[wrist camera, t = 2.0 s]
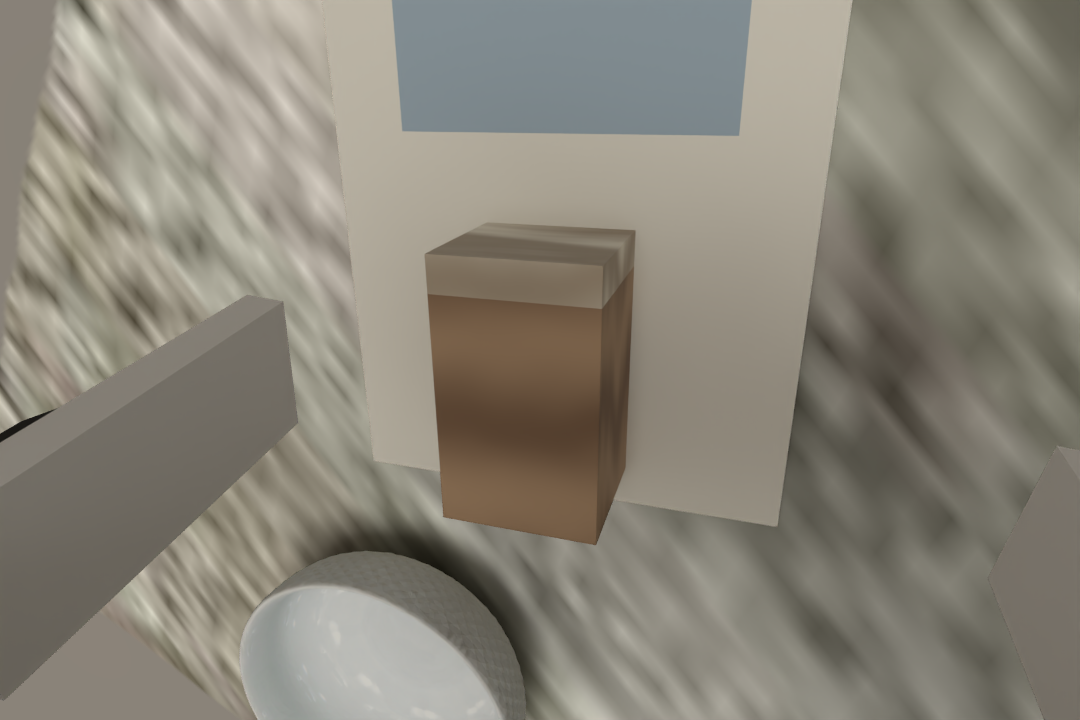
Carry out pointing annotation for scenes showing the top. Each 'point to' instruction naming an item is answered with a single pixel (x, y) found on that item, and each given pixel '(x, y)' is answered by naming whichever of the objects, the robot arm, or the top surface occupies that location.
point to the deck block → (532, 374)
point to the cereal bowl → (377, 646)
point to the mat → (602, 203)
